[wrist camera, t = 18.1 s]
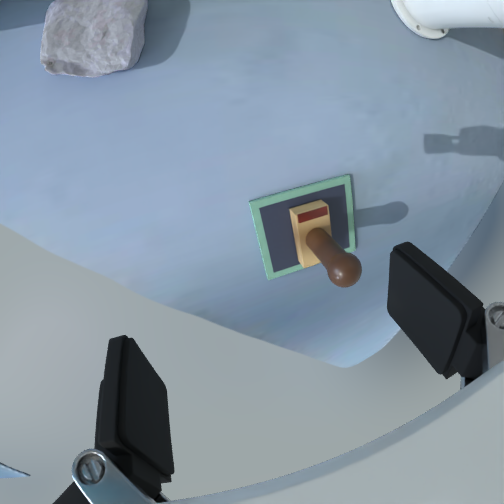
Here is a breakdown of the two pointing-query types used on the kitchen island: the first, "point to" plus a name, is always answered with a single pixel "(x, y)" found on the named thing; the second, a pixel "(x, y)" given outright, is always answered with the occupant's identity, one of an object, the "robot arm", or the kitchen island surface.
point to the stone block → (92, 36)
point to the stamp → (322, 243)
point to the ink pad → (280, 229)
